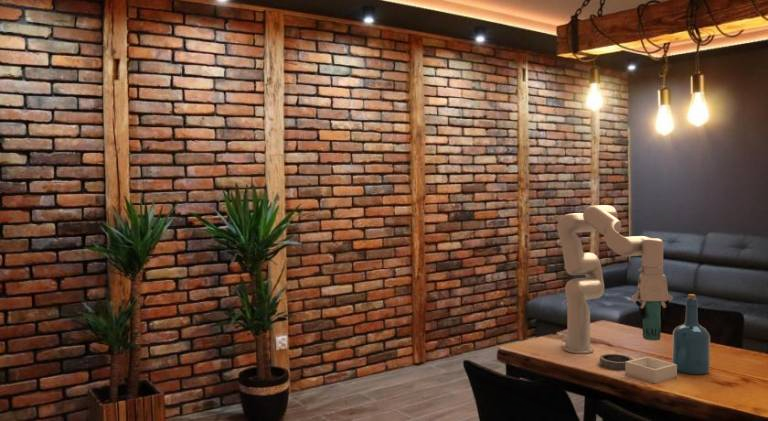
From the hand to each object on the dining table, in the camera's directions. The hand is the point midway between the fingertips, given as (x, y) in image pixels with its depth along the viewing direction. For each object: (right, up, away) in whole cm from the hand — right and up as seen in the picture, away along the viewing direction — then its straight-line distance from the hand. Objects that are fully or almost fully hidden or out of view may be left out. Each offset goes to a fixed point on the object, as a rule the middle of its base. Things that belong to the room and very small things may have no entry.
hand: (651, 317), depth 245 cm
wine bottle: (+18, -22, +8) cm, 30 cm away
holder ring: (-8, -22, +15) cm, 28 cm away
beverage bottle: (0, -10, 0) cm, 10 cm away
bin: (0, -23, +1) cm, 23 cm away
